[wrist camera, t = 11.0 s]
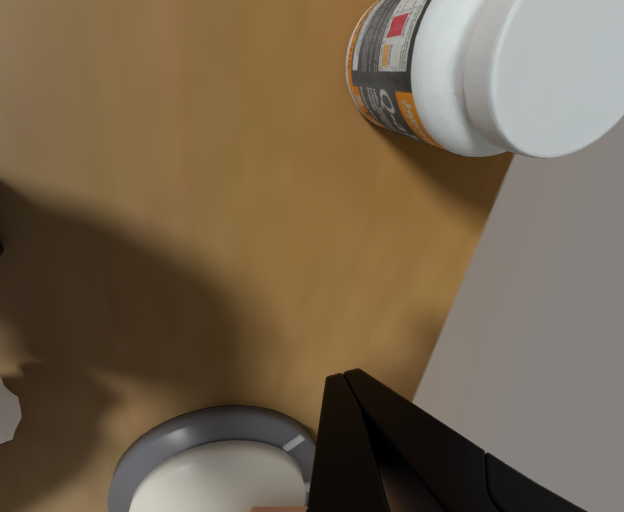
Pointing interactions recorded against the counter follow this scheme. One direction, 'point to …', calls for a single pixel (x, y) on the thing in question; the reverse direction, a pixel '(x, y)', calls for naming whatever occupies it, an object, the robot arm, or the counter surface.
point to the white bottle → (8, 413)
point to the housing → (209, 429)
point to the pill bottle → (491, 73)
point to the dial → (223, 480)
